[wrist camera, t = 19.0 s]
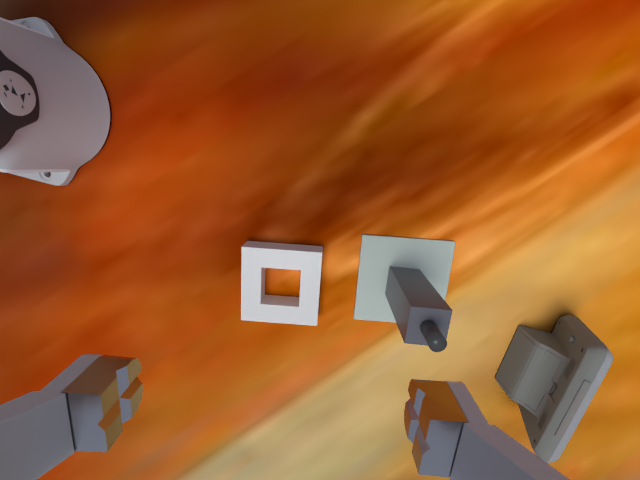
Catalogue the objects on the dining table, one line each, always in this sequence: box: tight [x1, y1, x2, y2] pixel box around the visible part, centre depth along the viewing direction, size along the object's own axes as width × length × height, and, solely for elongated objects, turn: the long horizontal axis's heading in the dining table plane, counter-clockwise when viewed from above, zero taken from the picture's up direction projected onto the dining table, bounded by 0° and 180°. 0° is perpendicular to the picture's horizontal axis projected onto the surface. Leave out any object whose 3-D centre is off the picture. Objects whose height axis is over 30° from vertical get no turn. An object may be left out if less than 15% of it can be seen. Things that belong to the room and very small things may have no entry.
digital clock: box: [495, 315, 613, 463], centre depth 41 cm, size 16×9×11 cm, turn 154°
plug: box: [385, 266, 452, 352], centre depth 36 cm, size 4×4×15 cm
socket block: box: [241, 241, 323, 326], centre depth 43 cm, size 10×10×3 cm
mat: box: [354, 234, 455, 322], centre depth 44 cm, size 12×12×1 cm
